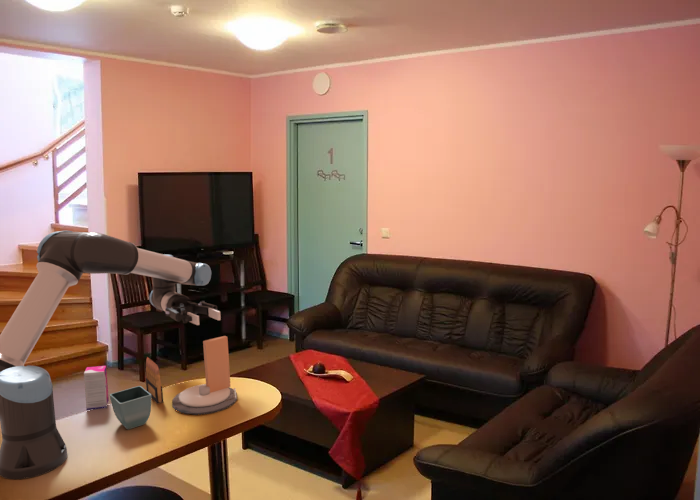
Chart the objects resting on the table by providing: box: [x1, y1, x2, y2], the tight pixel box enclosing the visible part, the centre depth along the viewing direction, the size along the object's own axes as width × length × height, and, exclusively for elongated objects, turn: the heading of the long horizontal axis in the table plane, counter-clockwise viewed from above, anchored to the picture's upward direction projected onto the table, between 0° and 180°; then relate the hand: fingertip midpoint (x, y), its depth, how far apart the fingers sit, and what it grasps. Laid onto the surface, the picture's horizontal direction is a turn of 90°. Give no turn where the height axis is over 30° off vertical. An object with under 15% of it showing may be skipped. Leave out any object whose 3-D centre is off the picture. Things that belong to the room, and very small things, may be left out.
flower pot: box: [109, 385, 152, 430], centre depth 166 cm, size 9×9×9 cm
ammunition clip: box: [145, 356, 164, 405], centre depth 184 cm, size 11×2×12 cm, turn 35°
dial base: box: [171, 386, 238, 416], centre depth 181 cm, size 19×19×4 cm
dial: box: [178, 335, 231, 407], centre depth 180 cm, size 16×15×17 cm
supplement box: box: [83, 365, 110, 411], centre depth 179 cm, size 6×6×12 cm
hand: (208, 318), depth 183 cm, fingers open, 6 cm apart
